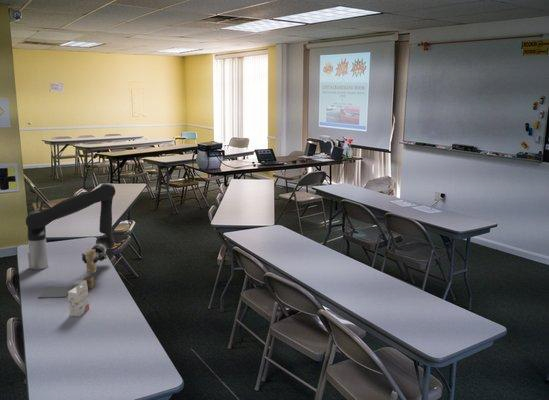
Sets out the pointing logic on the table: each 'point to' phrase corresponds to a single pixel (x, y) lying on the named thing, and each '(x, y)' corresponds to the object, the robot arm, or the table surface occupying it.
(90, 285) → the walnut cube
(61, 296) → the slate mat
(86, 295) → the ink cartridge box
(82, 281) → the grey block
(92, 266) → the maple block
